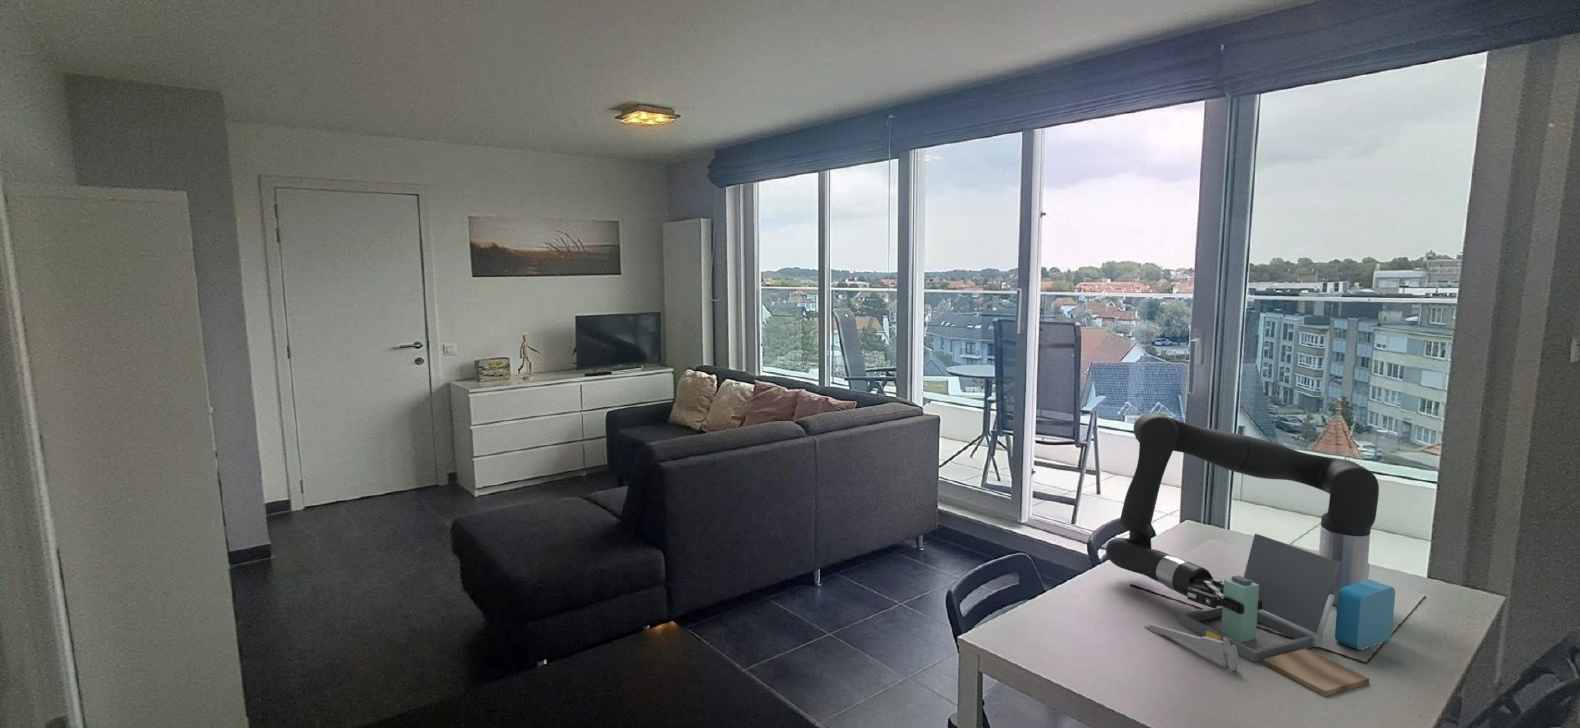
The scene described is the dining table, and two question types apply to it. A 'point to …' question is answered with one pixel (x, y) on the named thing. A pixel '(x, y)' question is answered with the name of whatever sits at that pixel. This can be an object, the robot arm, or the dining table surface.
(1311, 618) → the equipment case
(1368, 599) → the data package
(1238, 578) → the block
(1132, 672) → the dining table surface
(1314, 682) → the walnut board
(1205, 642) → the caliper
